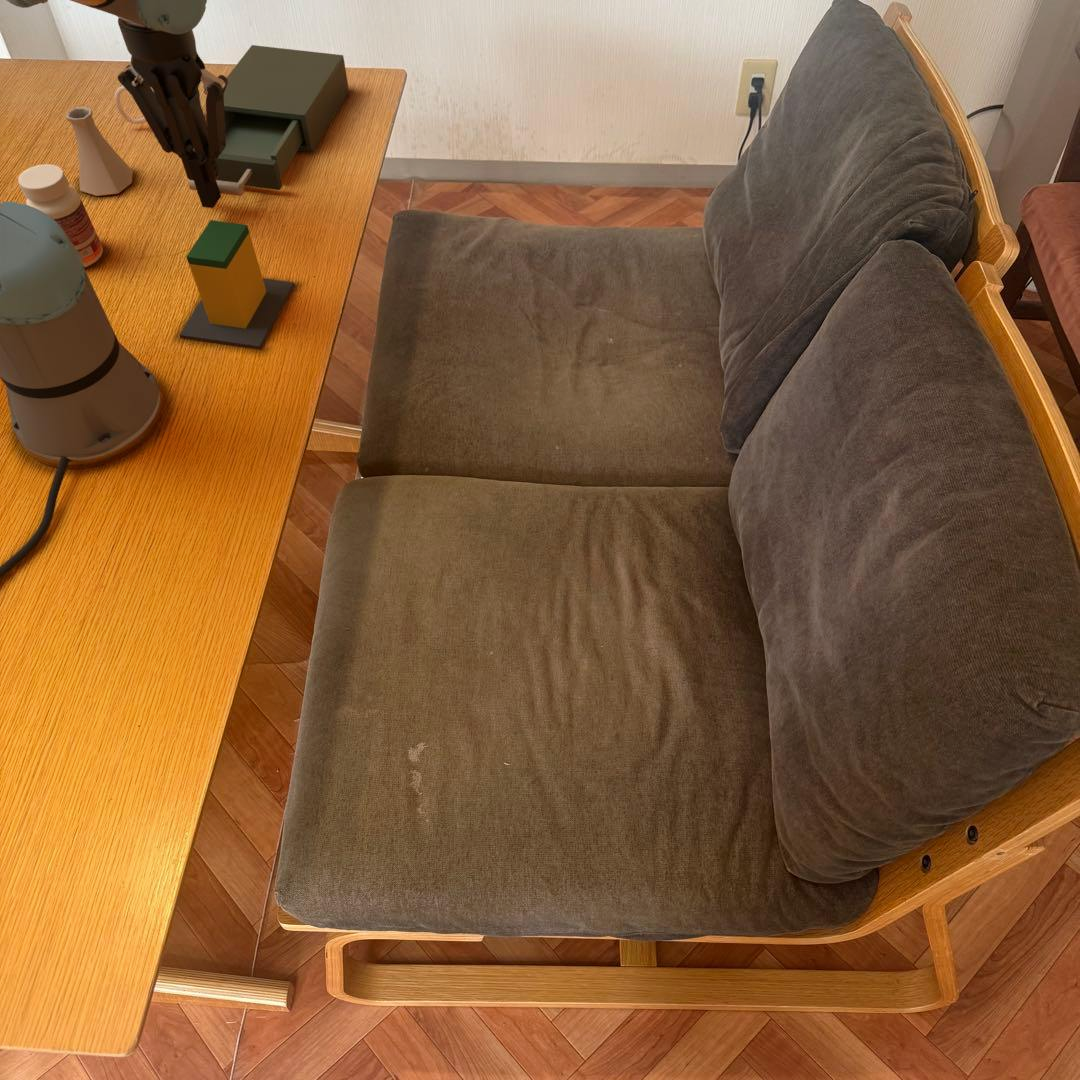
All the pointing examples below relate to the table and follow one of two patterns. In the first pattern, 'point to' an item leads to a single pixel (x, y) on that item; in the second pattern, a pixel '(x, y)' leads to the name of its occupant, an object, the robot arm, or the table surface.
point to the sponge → (227, 273)
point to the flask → (97, 157)
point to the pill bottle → (61, 207)
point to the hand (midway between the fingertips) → (211, 201)
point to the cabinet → (289, 87)
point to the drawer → (256, 151)
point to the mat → (254, 331)
